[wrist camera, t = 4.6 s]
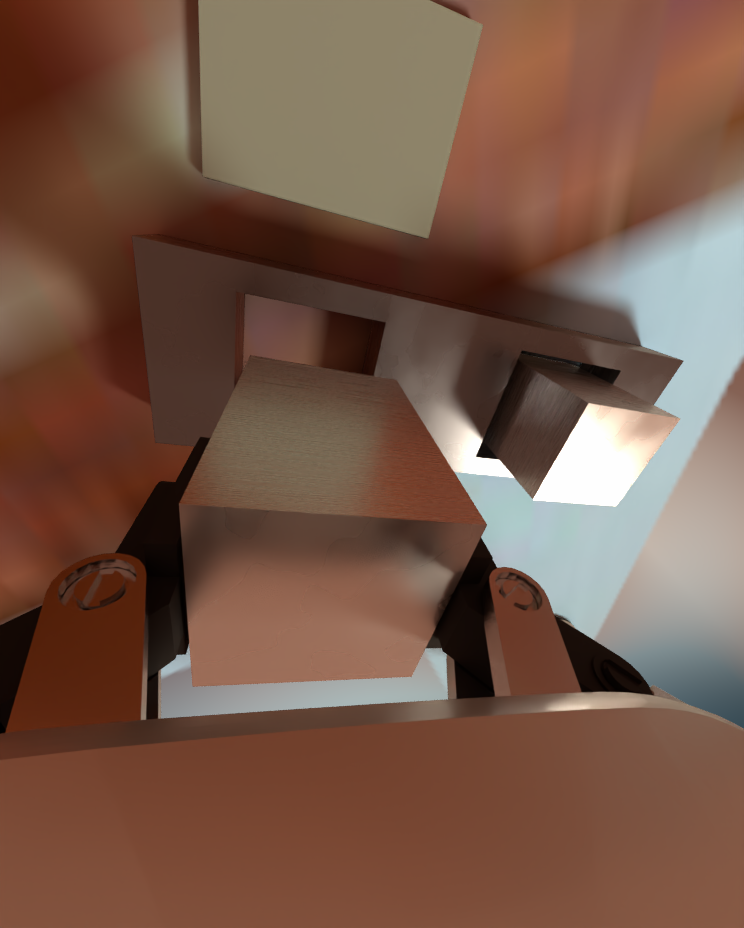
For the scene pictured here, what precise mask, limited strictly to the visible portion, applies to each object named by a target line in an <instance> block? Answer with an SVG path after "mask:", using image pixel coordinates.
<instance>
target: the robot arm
mask: <svg viewBox="0 0 744 928" xmlns="http://www.w3.org/2000/svg"><path fill="white" fill-rule="evenodd" d="M209 440H210V438H207V437H200V438H199V439H198V441H197V443H196V445H195V447H194V449H193V451H192V452H191V454H190V456H189V458H188V460H187V462H186V464H185V465H184V467H183V469H182V471H181V473H180V475H179V477H178V478H177V480H176V482H166V481H161V482H159V483H158V484H157V485H156V487H155V488H154V490H153V492H152V493H151V495H150V497H149V498H148V500H147V502H146V503H145V505H144V507H143V508H142V510H141V511H140V513H139V515H138V516H137V518H136V520H135V521H134V523H133V525H132V526H131V528H130V530H129V531H128V533H127V534H126V536H125V538H124V539H123V541H122V543H121V544H120V546H119V548H118V549H117V551H116V553H110V554H101V555H97V556H93V557H89V558H86V559H84V560H81V561H79V562H77V563H74V564H73V565H71V566H70V567H68V568H67V569H65V570H64V571H62V572H61V573H60V574H59V575H58V576H57V577H56V578H55V579H54V580H53V581H52V582H51V584H50V586H49V588H48V590H47V592H46V595H45V598H44V602H43V605H42V606H40V607H38V608H36V609H34V610H31V611H29V612H27V613H25V614H23V615H21V616H19V617H17V618H15V619H12V620H10V621H8V622H6V623H4V624H2V625H0V928H744V729H743V728H741V727H739V726H737V725H735V724H734V723H732V722H730V721H728V720H726V719H724V718H721V717H719V716H717V715H715V714H712V713H709V712H706V711H704V710H701V709H698V708H696V707H693V706H690V705H687V704H686V703H684V702H682V701H681V700H679V699H677V698H675V697H673V696H672V695H670V694H668V693H666V692H665V691H663V690H661V689H659V688H658V687H656V686H654V685H652V686H651V687H649V685H648V684H647V682H646V681H645V680H644V678H643V677H642V676H641V675H640V673H639V672H638V671H637V670H636V669H635V668H633V666H631V664H629V663H628V662H626V661H625V660H624V659H623V658H621V657H620V656H618V655H617V654H615V653H613V652H612V651H610V650H608V649H607V648H605V647H604V646H602V645H601V644H599V643H597V642H596V641H594V640H593V639H591V638H589V637H588V636H586V635H585V634H583V633H581V632H580V631H578V630H577V629H575V627H574V626H573V625H572V624H571V623H570V622H568V621H565V620H562V619H559V618H557V617H556V616H554V614H553V611H552V608H551V605H550V602H549V600H548V597H547V595H546V593H545V592H544V590H543V589H542V588H541V586H540V585H539V584H538V583H537V582H536V581H535V580H533V579H532V578H531V577H530V576H528V575H526V574H525V573H523V572H521V571H518V570H516V569H513V568H507V567H501V568H497V567H496V565H495V563H494V561H493V560H492V559H493V557H492V556H491V554H490V552H489V551H488V549H487V547H486V545H485V544H484V542H483V540H482V538H480V540H479V542H478V544H477V546H476V548H475V550H474V552H473V554H472V556H471V558H470V560H469V562H468V564H467V566H466V568H465V570H464V572H463V574H462V576H461V578H460V580H459V582H458V584H457V586H456V588H455V590H454V592H453V594H452V596H451V598H450V600H449V602H448V604H447V606H446V608H445V610H444V612H443V614H442V616H441V618H440V620H439V622H438V624H437V626H436V628H435V630H434V632H433V634H432V636H431V638H430V640H429V642H428V644H427V646H426V648H442V650H443V652H445V653H446V654H447V658H446V663H447V686H448V700H434V701H417V702H401V703H385V704H369V705H355V706H339V707H323V708H308V709H294V710H278V711H264V712H250V713H236V714H221V715H207V716H192V717H178V718H164V719H161V669H162V668H163V667H165V666H166V665H167V664H169V663H170V662H172V661H173V660H174V659H175V658H176V655H182V654H186V652H187V649H188V645H189V631H188V618H187V605H186V592H185V578H184V565H183V552H182V539H181V525H180V512H179V503H180V501H181V498H182V496H183V494H184V492H185V490H186V488H187V486H188V484H189V482H190V480H191V478H192V476H193V474H194V472H195V469H196V467H197V465H198V463H199V461H200V459H201V457H202V455H203V453H204V451H205V449H206V447H207V445H208V443H209Z"/></svg>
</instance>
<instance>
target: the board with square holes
mask: <svg viewBox="0 0 744 928" xmlns="http://www.w3.org/2000/svg"><path fill="white" fill-rule="evenodd" d="M132 241H133V250H134V259H135V268H136V277H137V286H138V294H139V303H140V312H141V321H142V330H143V339H144V348H145V356H146V365H147V374H148V383H149V392H150V401H151V409H152V418H153V427H154V436H155V443H164V444H175V445H185V446H195V445H196V443H197V441H198V439H199V438H200V437H207V438H211V436H212V434H213V432H214V430H215V428H216V426H217V424H218V422H219V420H220V418H221V416H222V414H223V411H224V409H225V407H226V405H227V403H228V401H229V399H230V397H231V395H232V393H233V391H234V389H235V387H236V385H237V382H238V380H239V378H240V376H241V374H242V372H243V341H244V307H245V294H250V295H255V296H260V297H265V298H270V299H274V300H279V301H284V302H289V303H294V304H299V305H304V306H309V307H313V308H318V309H323V310H328V311H333V312H338V313H343V314H348V315H352V316H357V317H362V318H367V319H372V320H373V322H372V327H371V332H370V337H369V341H368V346H367V351H366V356H365V361H364V365H363V370H362V374H364V375H370V376H376V377H382V378H388V379H394V380H397V381H398V383H399V385H400V386H401V388H402V389H403V391H404V393H405V394H406V396H407V397H408V399H409V401H410V402H411V404H412V406H413V407H414V409H415V410H416V412H417V414H418V415H419V417H420V418H421V420H422V422H423V423H424V425H425V426H426V428H427V430H428V431H429V433H430V434H431V436H432V438H433V439H434V441H435V442H436V444H437V446H438V447H439V449H440V450H441V452H442V454H443V455H444V457H445V458H446V460H447V462H448V463H449V465H450V466H451V468H452V470H453V471H454V472H462V473H472V474H483V475H493V476H503V477H513V475H512V474H511V473H510V472H509V471H508V470H507V468H506V467H505V466H504V465H503V464H502V462H501V461H500V460H499V459H498V458H497V457H496V455H495V454H494V453H493V452H492V451H491V450H490V448H489V447H488V446H487V445H486V444H485V443H484V441H483V438H484V436H485V434H486V431H487V429H488V427H489V424H490V422H491V420H492V418H493V415H494V413H495V411H496V408H497V406H498V404H499V401H500V399H501V397H502V395H503V392H504V390H505V388H506V385H507V383H508V381H509V378H510V376H511V374H512V371H513V369H514V367H515V365H516V362H517V360H518V358H519V355H520V353H521V351H522V350H523V351H528V352H533V353H538V354H543V355H547V356H552V357H557V358H562V359H567V360H572V361H577V362H582V364H581V366H580V368H581V369H583V370H585V371H587V372H589V373H591V374H593V375H595V376H597V377H599V378H601V379H603V380H605V381H607V382H609V383H611V384H613V385H615V386H616V387H618V388H620V389H622V390H624V391H626V392H628V393H630V394H632V395H634V396H636V397H638V398H640V399H642V400H644V401H646V402H648V403H650V404H652V405H654V404H655V402H656V401H657V399H658V398H659V396H660V395H661V393H662V392H663V390H664V389H665V387H666V386H667V384H668V383H669V382H670V380H671V379H672V377H673V376H674V374H675V373H676V371H677V370H678V368H679V367H680V365H681V364H682V362H683V360H680V359H677V358H674V357H671V356H668V355H665V354H663V353H660V352H657V351H654V350H651V349H648V348H645V347H642V346H638V345H634V344H630V343H625V342H621V341H617V340H612V339H608V338H604V337H599V336H595V335H591V334H586V333H582V332H578V331H573V330H569V329H565V328H560V327H556V326H552V325H548V324H543V323H539V322H535V321H530V320H526V319H522V318H517V317H513V316H509V315H504V314H500V313H496V312H491V311H487V310H483V309H478V308H474V307H470V306H466V305H461V304H457V303H453V302H448V301H444V300H440V299H435V298H431V297H427V296H422V295H418V294H414V293H409V292H405V291H401V290H397V289H392V288H388V287H384V286H379V285H375V284H371V283H366V282H362V281H358V280H353V279H349V278H345V277H340V276H336V275H332V274H327V273H323V272H319V271H315V270H310V269H306V268H302V267H297V266H293V265H289V264H284V263H280V262H276V261H271V260H267V259H263V258H258V257H254V256H250V255H245V254H241V253H237V252H233V251H228V250H224V249H220V248H215V247H211V246H207V245H202V244H198V243H194V242H189V241H185V240H181V239H176V238H172V237H168V236H164V235H159V234H154V235H133V236H132Z"/></svg>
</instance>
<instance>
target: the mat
mask: <svg viewBox="0 0 744 928" xmlns="http://www.w3.org/2000/svg"><path fill="white" fill-rule="evenodd" d="M198 6H199V49H200V92H201V135H202V176H203V177H205V178H209V179H212V180H216V181H219V182H223V183H227V184H230V185H234V186H238V187H241V188H245V189H248V190H252V191H256V192H259V193H263V194H266V195H270V196H274V197H277V198H281V199H284V200H288V201H292V202H295V203H299V204H303V205H306V206H310V207H313V208H317V209H321V210H324V211H328V212H331V213H335V214H339V215H342V216H346V217H350V218H353V219H357V220H360V221H364V222H368V223H371V224H375V225H378V226H382V227H386V228H389V229H393V230H397V231H400V232H404V233H407V234H411V235H415V236H418V237H422V238H427V239H428V237H429V233H430V229H431V225H432V222H433V218H434V214H435V210H436V206H437V202H438V198H439V194H440V190H441V187H442V183H443V179H444V175H445V171H446V167H447V163H448V159H449V155H450V152H451V148H452V144H453V140H454V136H455V132H456V128H457V124H458V120H459V116H460V113H461V109H462V105H463V101H464V97H465V93H466V89H467V85H468V81H469V78H470V74H471V70H472V66H473V62H474V58H475V54H476V50H477V46H478V43H479V39H480V35H481V31H482V27H483V25H482V24H480V23H478V22H476V21H473V20H471V19H469V18H467V17H465V16H463V15H461V14H458V13H456V12H454V11H452V10H450V9H448V8H445V7H443V6H441V5H439V4H437V3H435V2H433V1H430V0H198Z"/></svg>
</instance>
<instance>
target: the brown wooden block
mask: <svg viewBox="0 0 744 928" xmlns="http://www.w3.org/2000/svg"><path fill="white" fill-rule="evenodd" d="M679 420H680V418H678V417H676V416H674V415H672V414H670V413H668V412H666V411H664V410H662V409H660V408H658V407H656V406H654V405H652V404H650V403H648V402H646V401H644V400H642V399H640V398H638V397H636V396H634V395H632V394H630V393H628V392H626V391H624V390H622V389H620V388H618V387H616V386H615V385H613V384H611V383H609V382H607V381H605V380H603V379H601V378H599V377H597V376H595V375H593V374H591V373H589V372H587V371H585V370H583V369H581V368H579V367H577V366H575V365H573V364H570V363H565V362H560V361H555V360H551V359H546V358H541V357H536V356H531V355H526V354H521V353H520V355H519V358H518V360H517V362H516V365H515V367H514V369H513V371H512V374H511V376H510V378H509V381H508V383H507V385H506V388H505V390H504V392H503V395H502V397H501V399H500V401H499V404H498V406H497V408H496V411H495V413H494V415H493V418H492V420H491V422H490V424H489V427H488V429H487V431H486V434H485V436H484V438H483V441H484V443H485V444H486V445H487V446H488V447H489V448H490V450H491V451H492V452H493V453H494V454H495V455H496V457H497V458H498V459H499V460H500V461H501V462H502V464H503V465H504V466H505V467H506V468H507V470H508V471H509V472H510V473H511V474H512V475H513V477H514V478H515V479H516V480H517V481H518V482H519V484H520V485H521V486H522V487H523V488H524V489H525V491H526V492H527V493H528V494H529V495H530V497H531V498H532V499H533V500H543V501H556V502H569V503H581V504H594V505H606V506H616V505H617V504H618V503H619V501H620V500H621V499H622V497H623V496H624V495H625V493H626V492H627V490H628V489H629V488H630V486H631V485H632V484H633V482H634V481H635V480H636V478H637V477H638V476H639V474H640V473H641V471H642V470H643V469H644V467H645V466H646V465H647V463H648V462H649V461H650V459H651V458H652V457H653V455H654V454H655V453H656V451H657V450H658V448H659V447H660V446H661V444H662V443H663V442H664V440H665V439H666V438H667V436H668V435H669V434H670V432H671V431H672V430H673V428H674V427H675V425H676V424H677V423H678V421H679Z"/></svg>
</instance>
